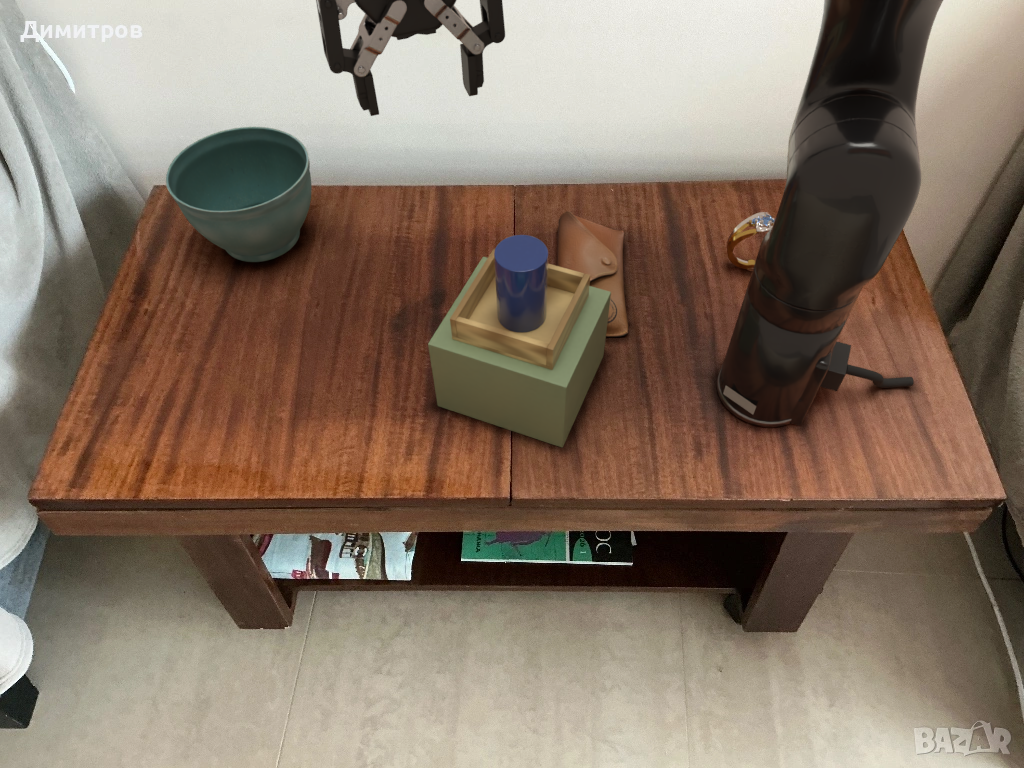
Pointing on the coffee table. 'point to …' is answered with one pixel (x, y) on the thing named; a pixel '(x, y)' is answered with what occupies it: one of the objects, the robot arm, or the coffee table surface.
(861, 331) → the coffee table surface
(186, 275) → the coffee table surface
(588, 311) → the riser
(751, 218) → the ring
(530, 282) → the blue cylinder
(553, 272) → the tray
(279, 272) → the coffee table surface
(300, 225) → the teal bowl
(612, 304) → the sunglasses case
